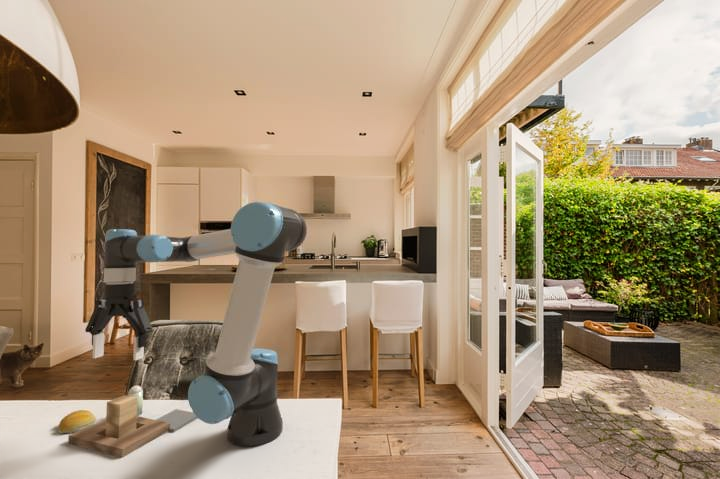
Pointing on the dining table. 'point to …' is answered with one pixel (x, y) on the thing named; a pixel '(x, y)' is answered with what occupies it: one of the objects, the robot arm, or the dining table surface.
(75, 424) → the bread roll
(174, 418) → the slate board
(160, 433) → the walnut board
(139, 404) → the sage shaker
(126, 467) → the dining table surface
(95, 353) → the robot arm
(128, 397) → the oak block
